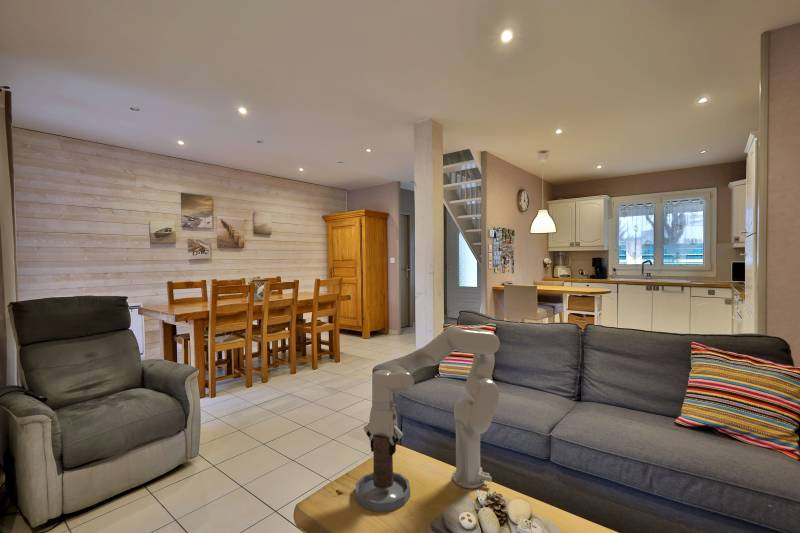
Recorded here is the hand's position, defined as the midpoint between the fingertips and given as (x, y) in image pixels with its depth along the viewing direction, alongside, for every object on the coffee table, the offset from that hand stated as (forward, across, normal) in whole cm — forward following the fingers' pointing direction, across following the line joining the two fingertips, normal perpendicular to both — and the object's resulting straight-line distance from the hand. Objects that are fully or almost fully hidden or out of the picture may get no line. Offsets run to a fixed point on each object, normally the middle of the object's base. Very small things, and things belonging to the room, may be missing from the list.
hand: (383, 451), depth 135 cm
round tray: (+16, 0, 0) cm, 16 cm away
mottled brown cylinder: (+13, 0, 0) cm, 13 cm away
